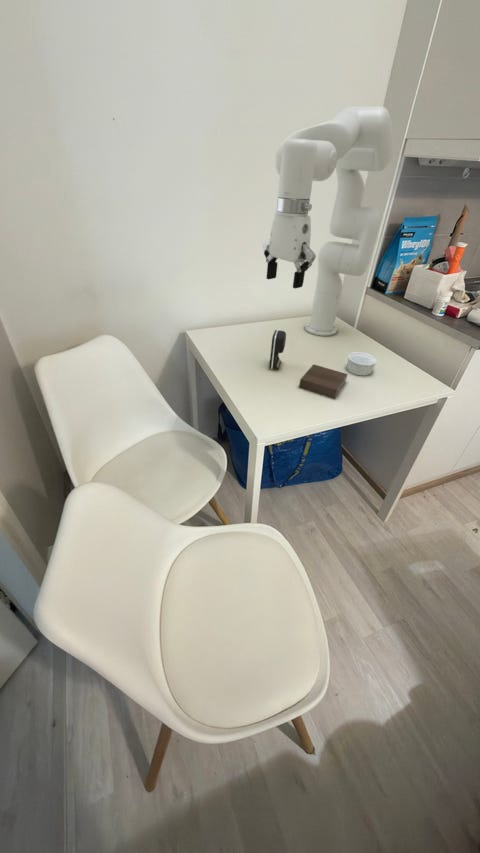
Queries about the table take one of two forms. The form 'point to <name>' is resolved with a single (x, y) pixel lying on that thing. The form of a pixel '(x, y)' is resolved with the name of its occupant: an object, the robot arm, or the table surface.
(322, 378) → the brown flat block
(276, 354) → the battery charger
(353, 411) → the table surface
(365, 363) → the ramekin
